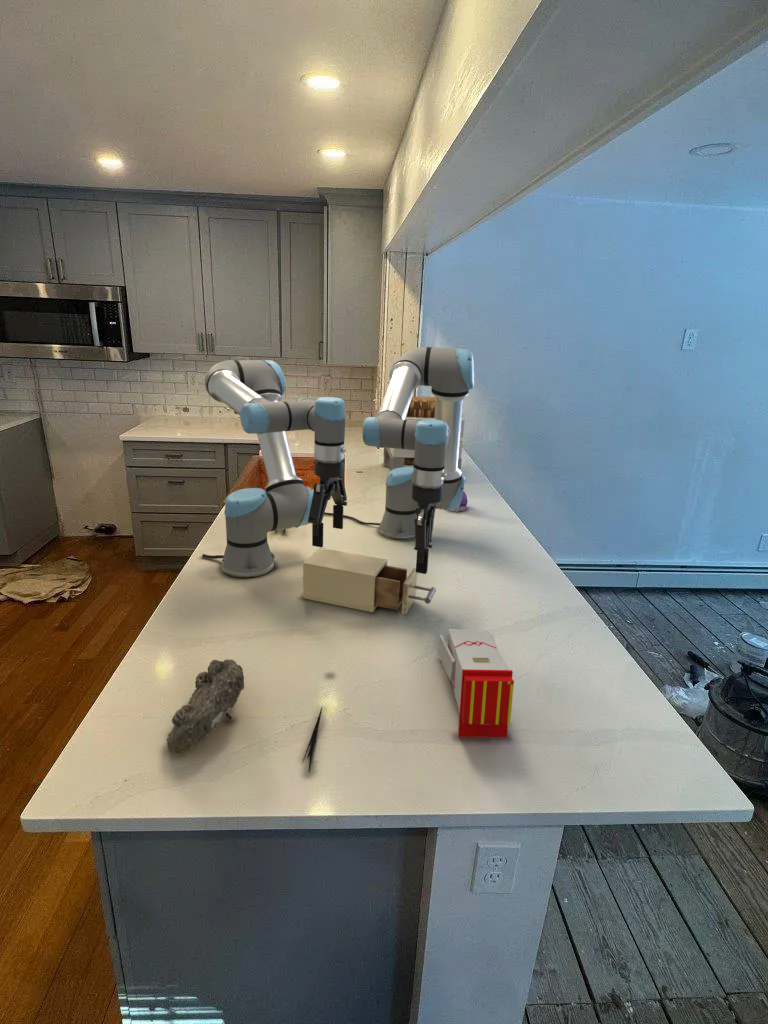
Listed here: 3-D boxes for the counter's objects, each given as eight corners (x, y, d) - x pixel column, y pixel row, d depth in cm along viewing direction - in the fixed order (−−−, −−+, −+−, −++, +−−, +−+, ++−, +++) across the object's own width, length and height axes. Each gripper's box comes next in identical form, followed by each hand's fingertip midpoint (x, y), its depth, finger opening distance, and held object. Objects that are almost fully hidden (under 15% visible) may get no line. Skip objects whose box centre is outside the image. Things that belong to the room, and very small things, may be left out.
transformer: (382, 463, 289) (386, 382, 275) (445, 464, 293) (451, 384, 279) (390, 482, 257) (394, 392, 243) (460, 483, 261) (468, 394, 247)
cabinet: (385, 593, 158) (387, 559, 154) (373, 612, 148) (374, 575, 144) (319, 581, 163) (319, 547, 160) (303, 598, 153) (303, 562, 150)
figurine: (454, 513, 222) (457, 476, 217) (439, 505, 230) (442, 470, 225) (473, 510, 226) (477, 474, 221) (459, 503, 234) (462, 468, 229)
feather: (331, 679, 122) (336, 673, 122) (307, 777, 96) (313, 769, 95) (324, 675, 122) (329, 669, 121) (298, 772, 95) (304, 764, 95)
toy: (488, 613, 130) (523, 677, 101) (484, 667, 133) (517, 744, 104) (435, 612, 130) (455, 676, 101) (432, 666, 133) (451, 743, 103)
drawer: (436, 601, 153) (438, 572, 150) (427, 619, 144) (430, 588, 141) (351, 585, 160) (351, 557, 157) (338, 601, 151) (338, 571, 148)
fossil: (192, 660, 117) (244, 628, 112) (224, 691, 120) (276, 661, 115) (142, 746, 98) (202, 712, 93) (182, 779, 101) (242, 748, 96)
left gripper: (323, 474, 132) (322, 557, 139) (360, 450, 154) (357, 523, 161) (293, 469, 134) (294, 552, 141) (334, 447, 156) (333, 519, 163)
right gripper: (436, 494, 131) (429, 585, 139) (448, 479, 143) (441, 564, 151) (405, 489, 133) (400, 580, 141) (419, 475, 145) (413, 559, 153)
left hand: (328, 536), depth 151 cm, fingers open, 13 cm apart
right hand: (421, 572), depth 146 cm, fingers closed
